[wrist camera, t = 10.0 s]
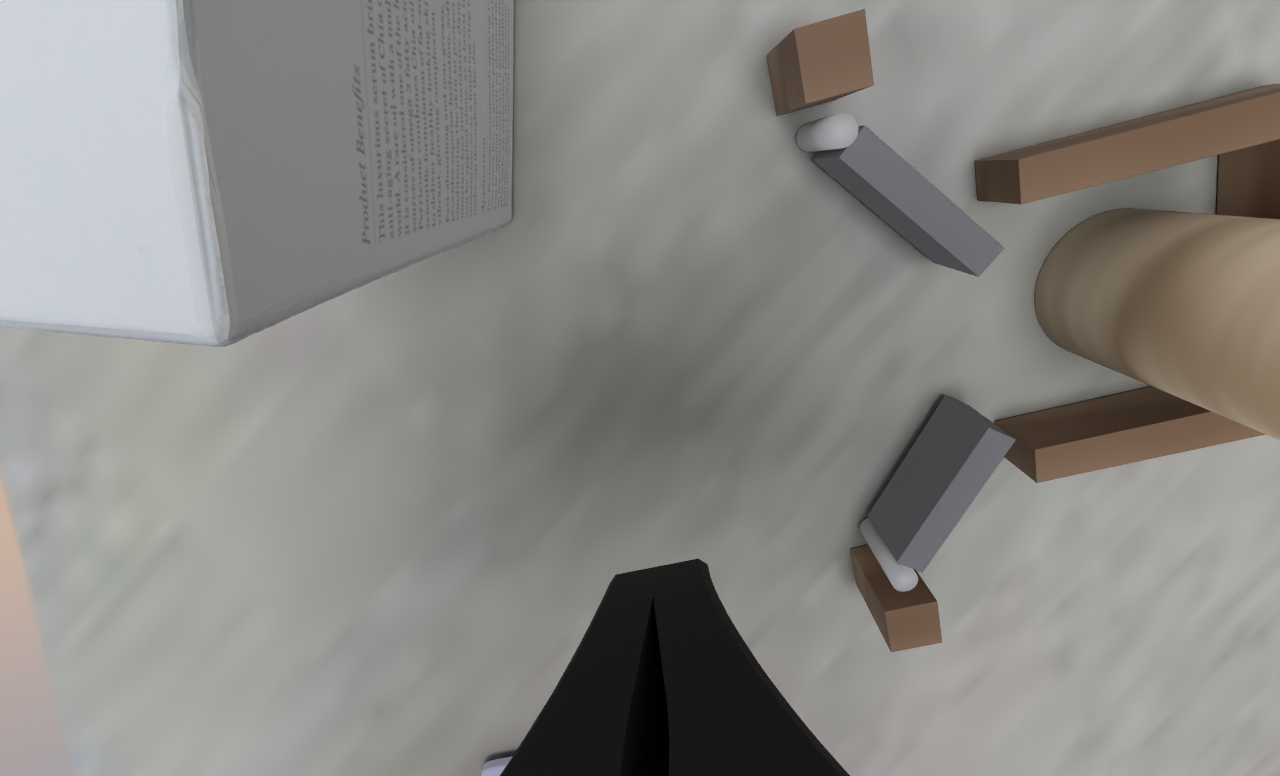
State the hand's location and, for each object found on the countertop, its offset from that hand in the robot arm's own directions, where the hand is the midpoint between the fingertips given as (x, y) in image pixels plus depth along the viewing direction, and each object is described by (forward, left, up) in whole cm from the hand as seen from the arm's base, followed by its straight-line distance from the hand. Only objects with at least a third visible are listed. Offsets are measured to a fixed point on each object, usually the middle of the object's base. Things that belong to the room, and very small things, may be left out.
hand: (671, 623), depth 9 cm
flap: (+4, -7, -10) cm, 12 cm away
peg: (0, -13, -10) cm, 16 cm away
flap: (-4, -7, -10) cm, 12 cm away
